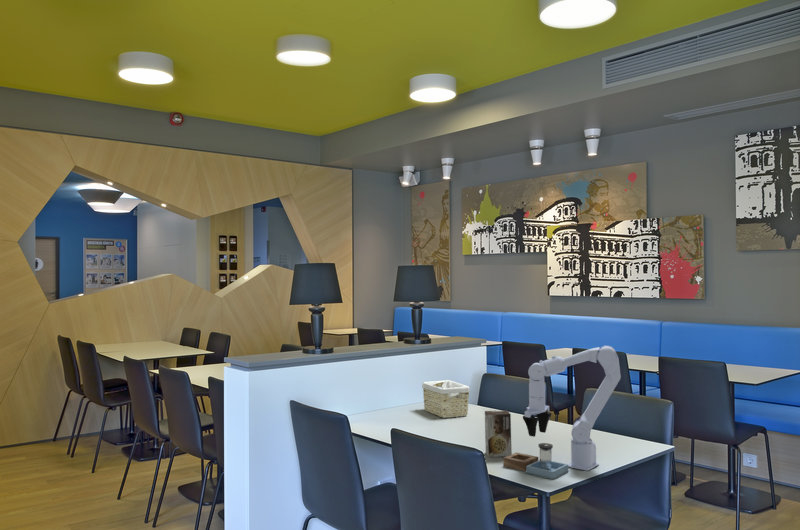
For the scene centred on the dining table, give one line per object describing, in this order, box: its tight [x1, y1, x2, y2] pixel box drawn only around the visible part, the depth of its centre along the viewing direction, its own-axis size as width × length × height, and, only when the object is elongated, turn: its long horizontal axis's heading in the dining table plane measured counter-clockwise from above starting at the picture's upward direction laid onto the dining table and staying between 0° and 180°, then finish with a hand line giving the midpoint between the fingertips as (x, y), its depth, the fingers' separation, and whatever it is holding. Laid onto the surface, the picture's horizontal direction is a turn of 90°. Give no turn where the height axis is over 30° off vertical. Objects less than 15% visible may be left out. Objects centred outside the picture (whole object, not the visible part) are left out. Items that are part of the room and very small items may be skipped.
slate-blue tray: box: [525, 459, 569, 480], centre depth 215 cm, size 11×10×2 cm
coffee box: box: [484, 410, 513, 458], centre depth 238 cm, size 9×6×16 cm
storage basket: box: [422, 379, 471, 419], centre depth 312 cm, size 24×16×15 cm
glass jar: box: [538, 442, 554, 471], centre depth 216 cm, size 5×5×9 cm
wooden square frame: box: [502, 451, 539, 472], centre depth 223 cm, size 9×9×3 cm
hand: (537, 434), depth 227 cm, fingers open, 7 cm apart
